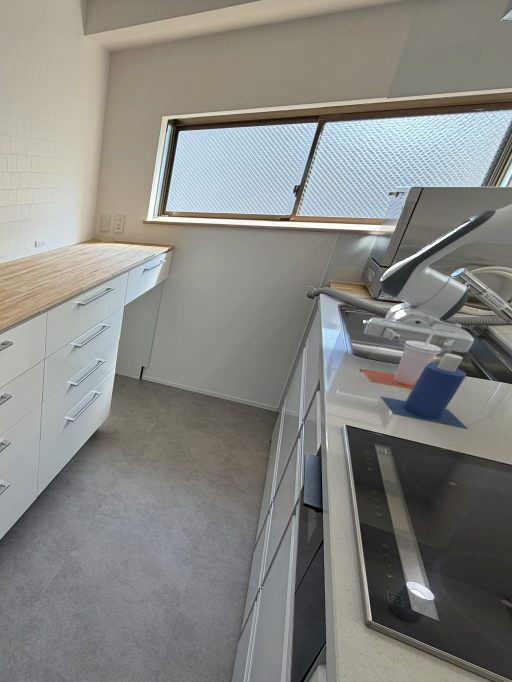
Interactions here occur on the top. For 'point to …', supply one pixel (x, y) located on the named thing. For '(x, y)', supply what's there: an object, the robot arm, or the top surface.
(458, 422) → the blue mat
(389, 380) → the terracotta mat
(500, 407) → the top surface
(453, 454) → the top surface
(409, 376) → the smoothie
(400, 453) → the top surface
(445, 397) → the blue bottle
